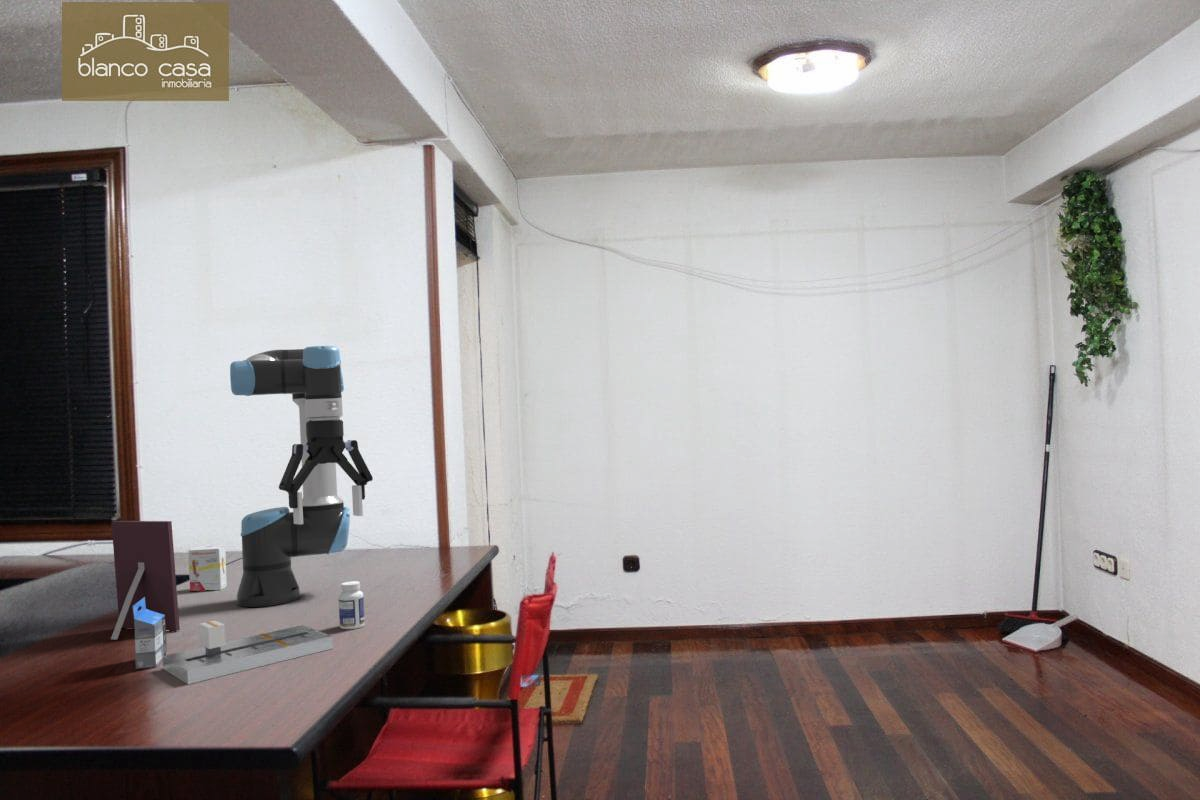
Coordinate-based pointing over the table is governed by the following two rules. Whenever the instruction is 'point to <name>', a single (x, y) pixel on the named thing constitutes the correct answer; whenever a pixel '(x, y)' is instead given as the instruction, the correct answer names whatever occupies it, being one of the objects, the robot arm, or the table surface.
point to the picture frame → (144, 571)
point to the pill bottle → (351, 606)
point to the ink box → (207, 568)
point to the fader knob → (212, 637)
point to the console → (247, 653)
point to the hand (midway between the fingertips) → (329, 519)
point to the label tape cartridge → (149, 636)
